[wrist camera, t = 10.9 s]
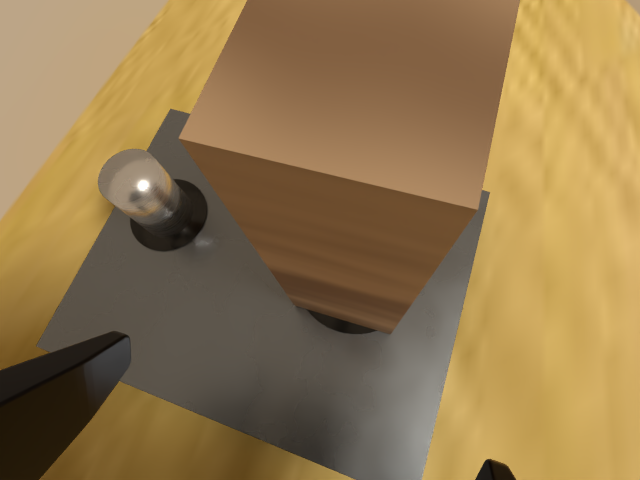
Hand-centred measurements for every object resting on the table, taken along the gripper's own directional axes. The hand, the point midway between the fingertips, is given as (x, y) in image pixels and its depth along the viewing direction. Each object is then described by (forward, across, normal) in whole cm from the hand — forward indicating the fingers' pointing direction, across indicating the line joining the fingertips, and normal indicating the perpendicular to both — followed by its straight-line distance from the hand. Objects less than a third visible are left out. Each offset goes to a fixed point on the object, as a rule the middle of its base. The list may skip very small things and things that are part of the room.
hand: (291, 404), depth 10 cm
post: (+10, 0, +1) cm, 10 cm away
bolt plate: (+10, +4, +3) cm, 11 cm away
